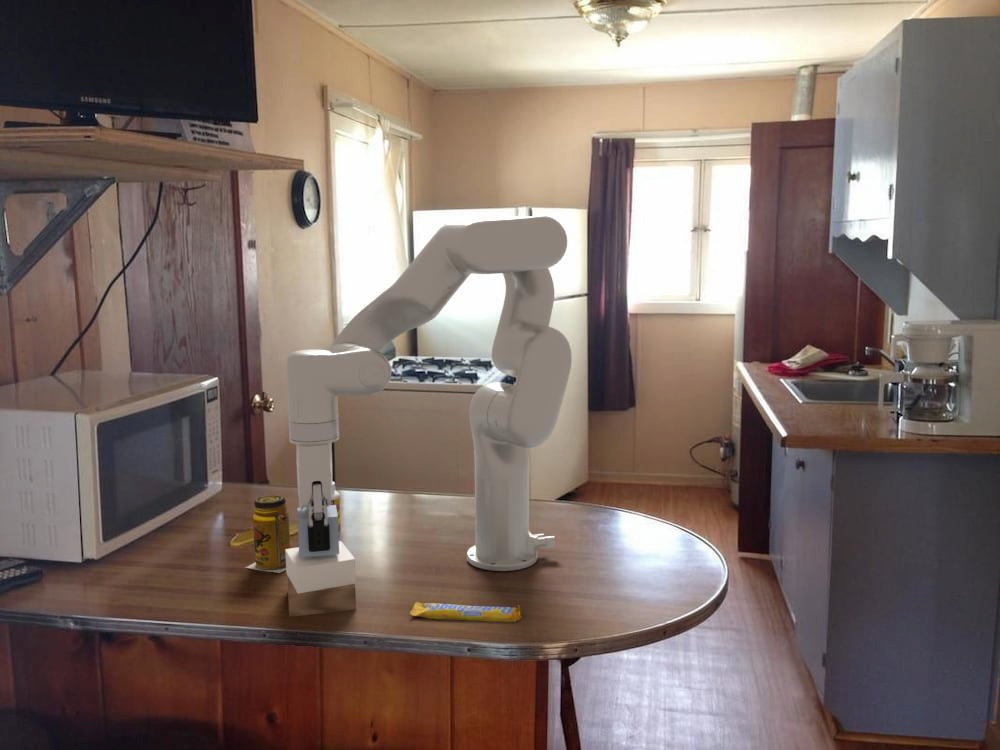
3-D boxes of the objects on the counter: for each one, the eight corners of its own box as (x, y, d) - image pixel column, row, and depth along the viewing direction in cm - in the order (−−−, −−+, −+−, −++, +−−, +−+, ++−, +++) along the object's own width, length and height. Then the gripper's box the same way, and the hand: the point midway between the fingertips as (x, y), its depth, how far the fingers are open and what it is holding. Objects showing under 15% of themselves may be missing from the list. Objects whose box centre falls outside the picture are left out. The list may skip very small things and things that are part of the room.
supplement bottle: (321, 541, 162) (319, 489, 160) (306, 534, 166) (303, 483, 164) (346, 534, 166) (344, 483, 164) (330, 527, 170) (328, 477, 168)
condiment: (244, 568, 149) (241, 501, 147) (274, 552, 156) (271, 488, 155) (279, 574, 146) (276, 506, 144) (308, 557, 154) (305, 492, 152)
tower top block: (341, 564, 141) (340, 540, 140) (356, 583, 133) (355, 558, 132) (286, 573, 137) (285, 549, 136) (297, 593, 129) (296, 568, 128)
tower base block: (351, 586, 141) (350, 563, 141) (356, 611, 132) (355, 587, 131) (288, 593, 139) (287, 569, 138) (289, 619, 129) (288, 594, 129)
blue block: (337, 540, 138) (335, 504, 137) (339, 553, 132) (337, 516, 131) (299, 544, 136) (297, 507, 135) (299, 557, 131) (297, 519, 130)
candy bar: (523, 614, 131) (523, 602, 130) (521, 626, 127) (520, 614, 126) (415, 609, 133) (415, 598, 132) (409, 621, 129) (409, 609, 128)
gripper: (289, 420, 139) (294, 527, 142) (288, 445, 122) (294, 565, 125) (336, 418, 140) (340, 523, 143) (341, 441, 124) (346, 560, 127)
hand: (318, 542), depth 134 cm, fingers closed on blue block, 6 cm apart
